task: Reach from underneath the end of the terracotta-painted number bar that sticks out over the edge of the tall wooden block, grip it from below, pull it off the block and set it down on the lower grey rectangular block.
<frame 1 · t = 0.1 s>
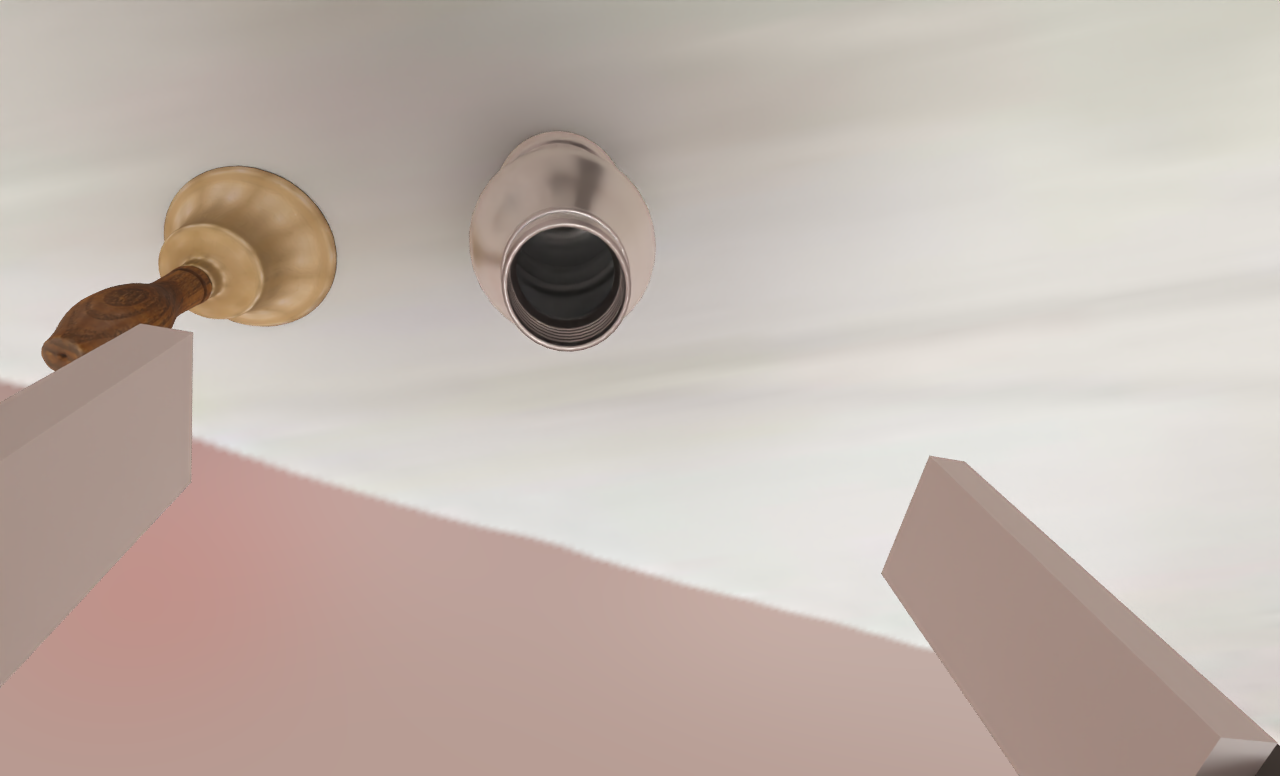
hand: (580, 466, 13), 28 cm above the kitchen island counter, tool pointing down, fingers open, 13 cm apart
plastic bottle: (560, 195, 39), on the kitchen island counter
hand bell: (254, 248, 38), on the kitchen island counter
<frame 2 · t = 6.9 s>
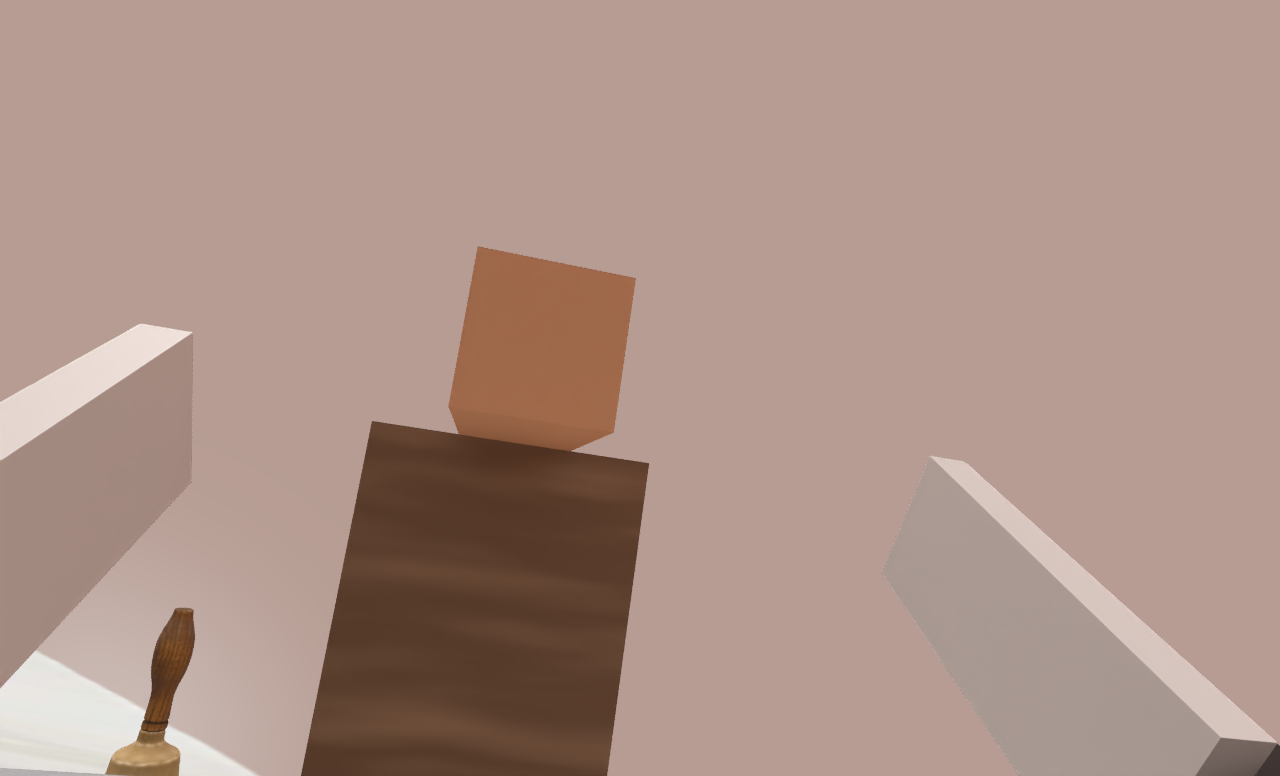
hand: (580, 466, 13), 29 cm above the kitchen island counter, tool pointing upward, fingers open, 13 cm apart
bar: (511, 447, 29), point 30 cm above the kitchen island counter, touching tall wooden block
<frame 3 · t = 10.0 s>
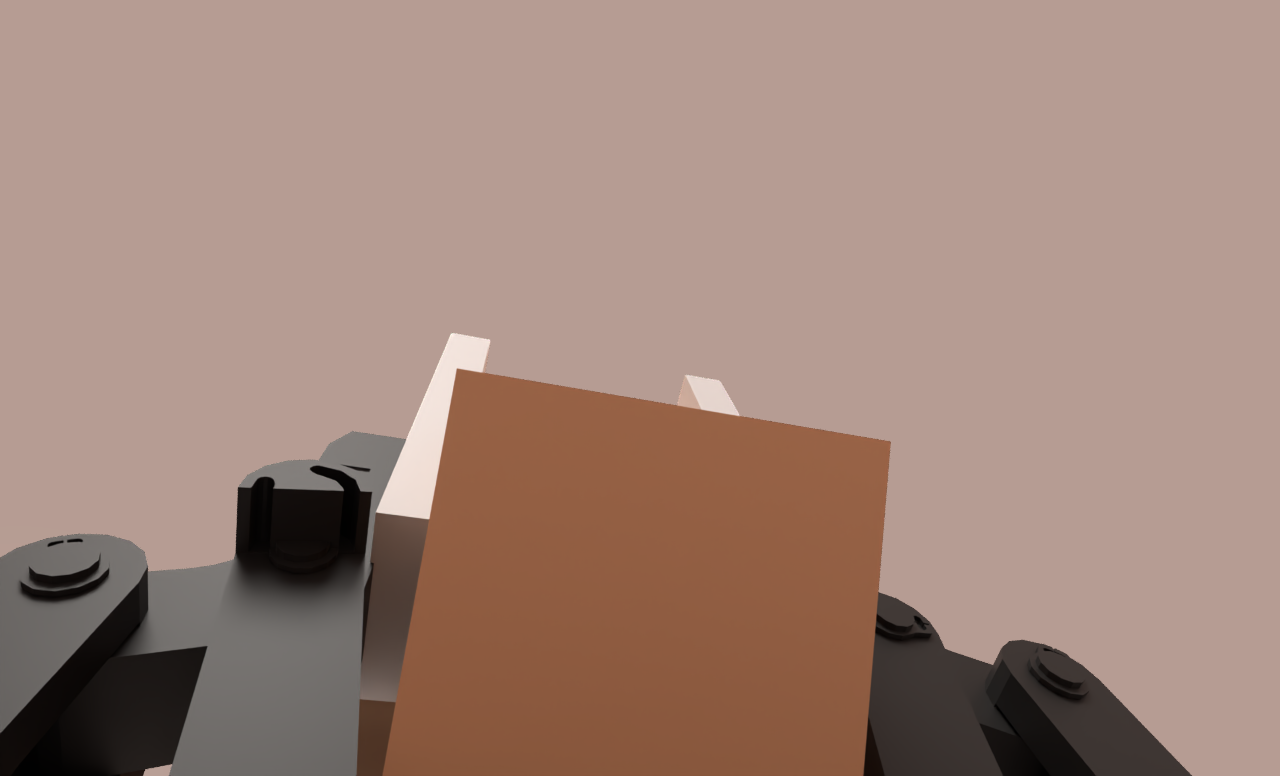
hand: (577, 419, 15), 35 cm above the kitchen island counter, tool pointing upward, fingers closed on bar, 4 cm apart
bar: (530, 623, 17), point 30 cm above the kitchen island counter, touching gripper, tall wooden block
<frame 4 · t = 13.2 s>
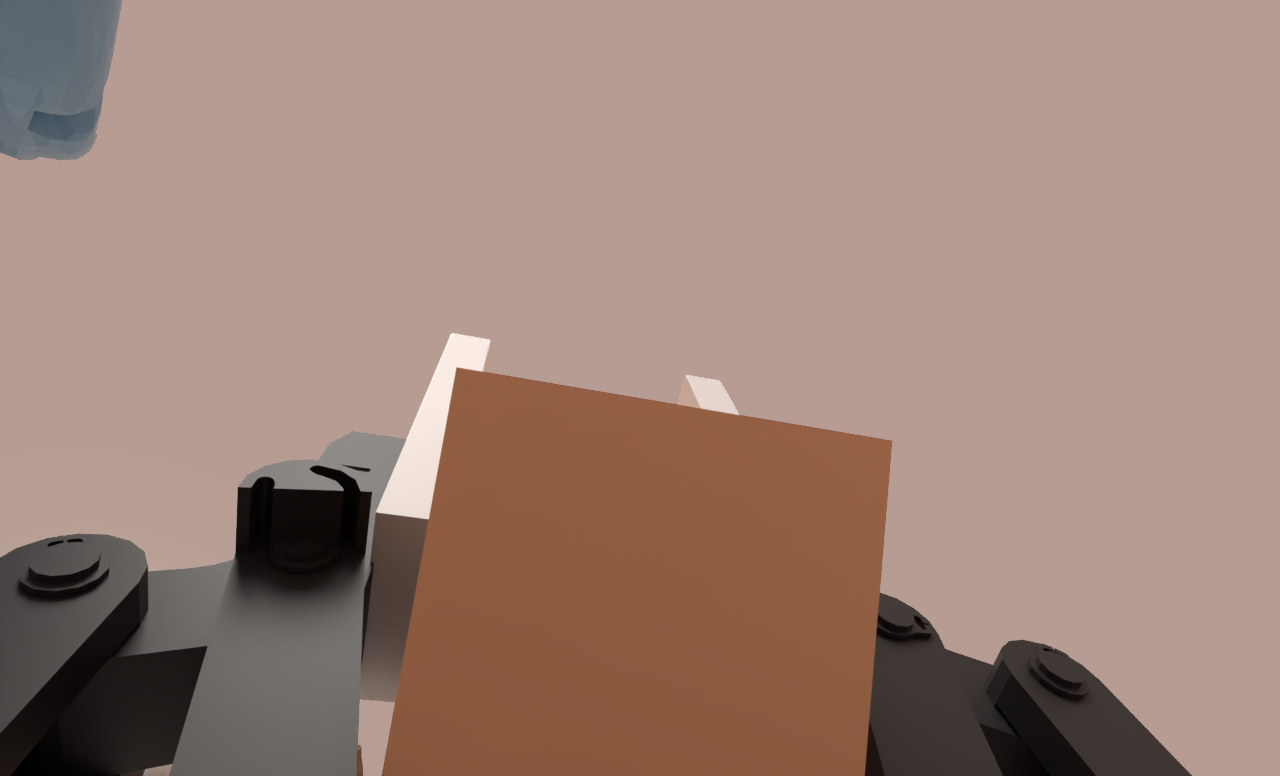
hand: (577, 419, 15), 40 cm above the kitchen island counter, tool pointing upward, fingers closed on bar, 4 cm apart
bar: (530, 623, 17), point 36 cm above the kitchen island counter, touching gripper
when the fingers open (25 cm above the kitchen island counter, at t = 16.5 s): bar drops 1 cm, resting on grey rectangular block.
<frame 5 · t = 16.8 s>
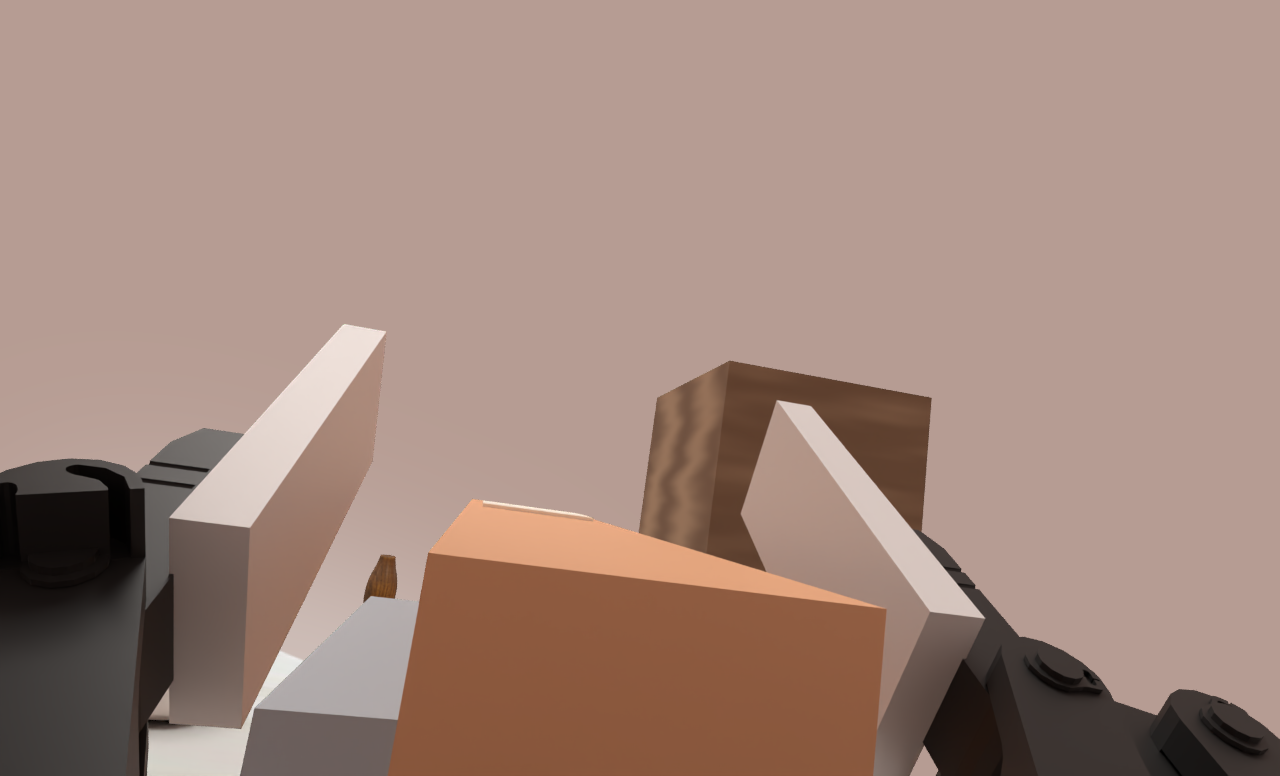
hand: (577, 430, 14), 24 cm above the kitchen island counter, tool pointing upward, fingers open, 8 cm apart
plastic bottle: (164, 719, 62), on the kitchen island counter
hand bell: (348, 749, 61), on the kitchen island counter
bar: (521, 690, 17), point 18 cm above the kitchen island counter, touching grey rectangular block
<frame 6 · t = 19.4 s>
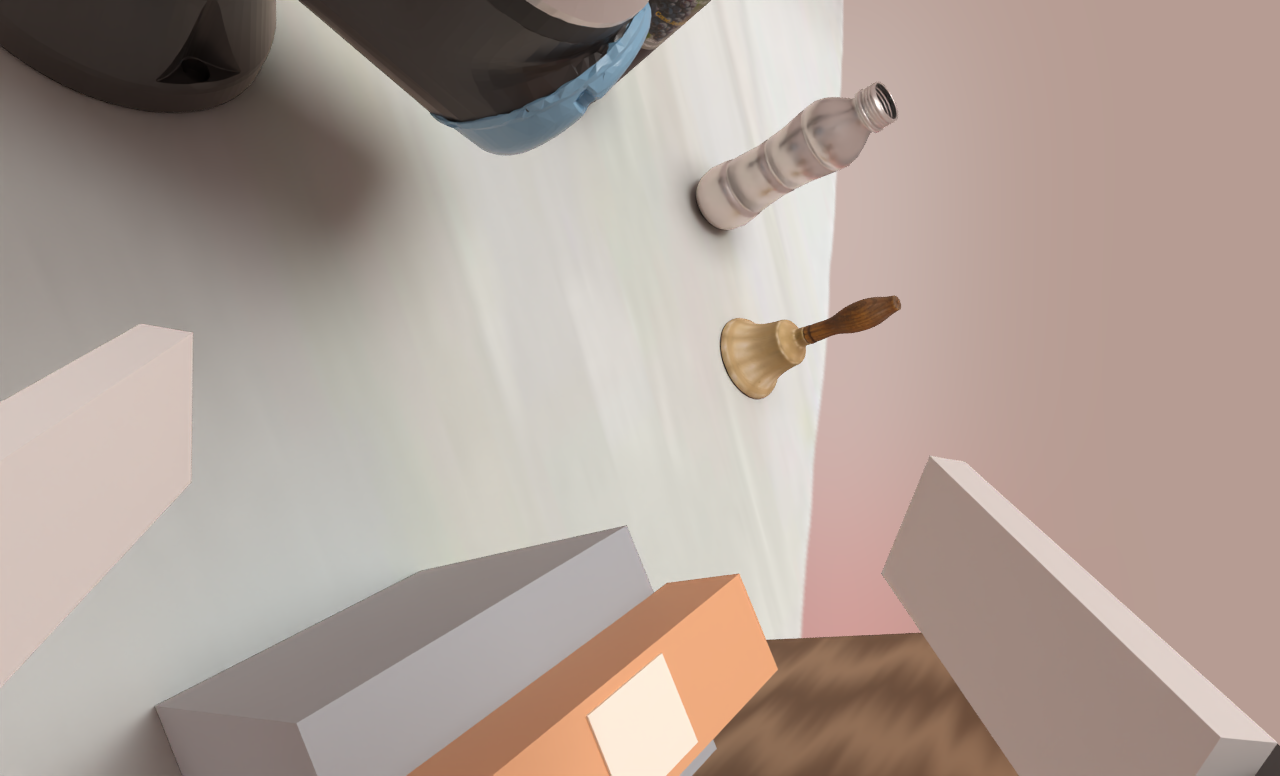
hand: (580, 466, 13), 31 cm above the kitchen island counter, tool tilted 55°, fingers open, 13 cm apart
tall wooden block: (623, 767, 49), on the kitchen island counter
grey rectangular block: (341, 718, 38), on the kitchen island counter
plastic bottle: (708, 208, 74), on the kitchen island counter
wine bottle: (564, 73, 65), on the kitchen island counter
hand bell: (746, 359, 72), on the kitchen island counter
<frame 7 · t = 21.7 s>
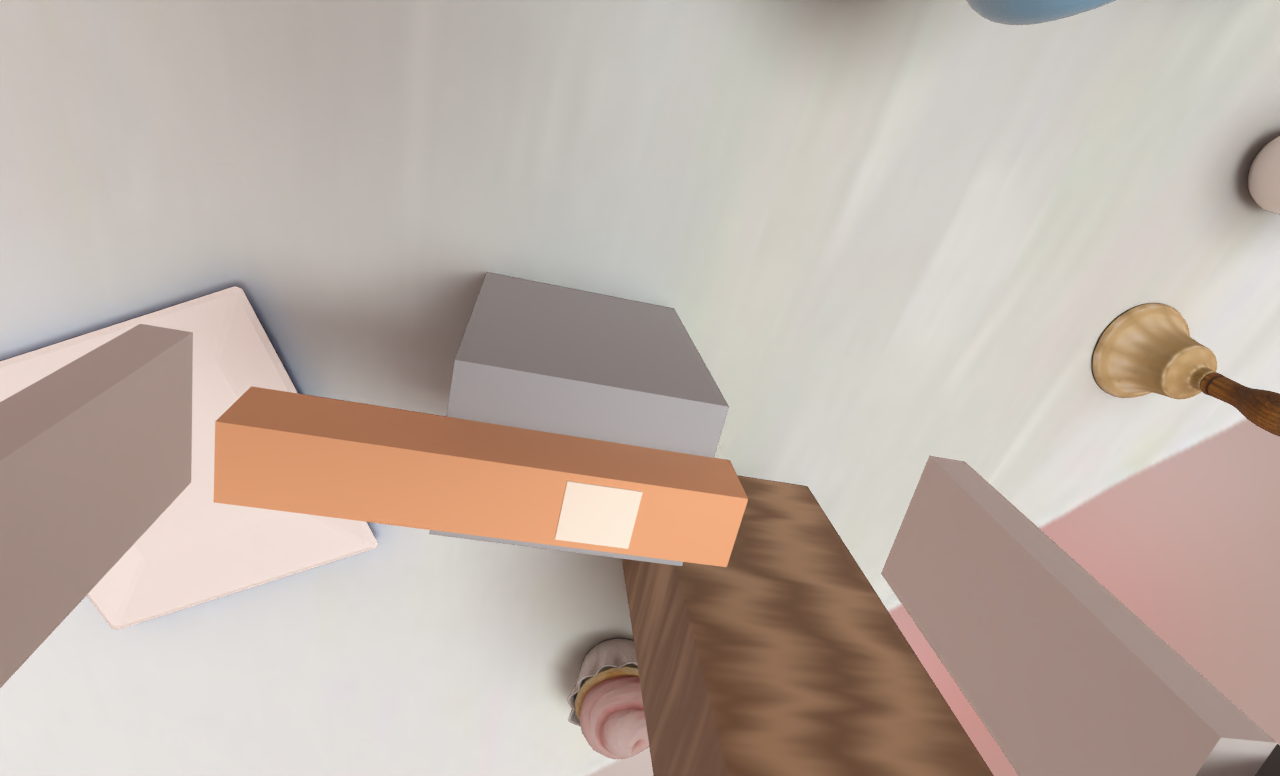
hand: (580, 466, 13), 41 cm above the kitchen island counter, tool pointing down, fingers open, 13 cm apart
plate: (184, 459, 55), on the kitchen island counter
tall wooden block: (714, 525, 62), on the kitchen island counter
grey rectangular block: (569, 354, 55), on the kitchen island counter
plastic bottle: (1271, 169, 56), on the kitchen island counter
cupcake: (617, 662, 67), on the kitchen island counter
hand bell: (1136, 350, 61), on the kitchen island counter
bar: (498, 460, 37), point 18 cm above the kitchen island counter, touching grey rectangular block
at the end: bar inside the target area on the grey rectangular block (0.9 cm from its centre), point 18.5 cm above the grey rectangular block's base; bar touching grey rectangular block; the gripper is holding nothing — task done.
